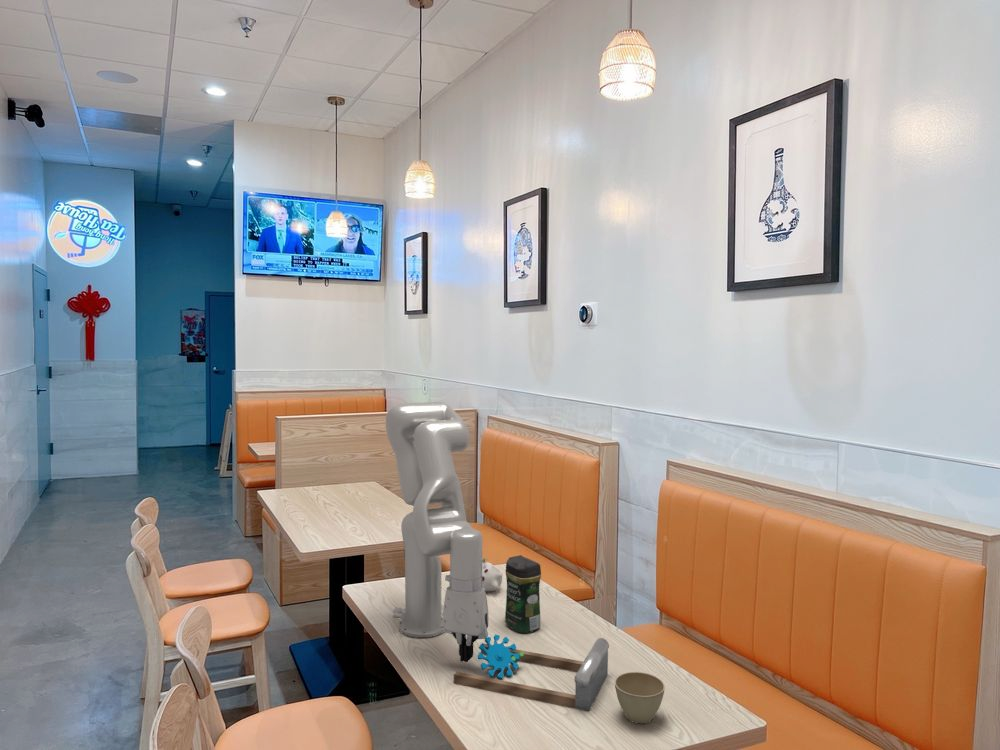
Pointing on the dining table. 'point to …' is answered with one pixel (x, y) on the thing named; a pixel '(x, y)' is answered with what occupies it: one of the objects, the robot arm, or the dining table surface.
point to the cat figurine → (490, 576)
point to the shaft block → (591, 675)
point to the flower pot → (639, 695)
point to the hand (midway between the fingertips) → (466, 659)
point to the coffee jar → (522, 594)
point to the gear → (499, 656)
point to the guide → (525, 690)
